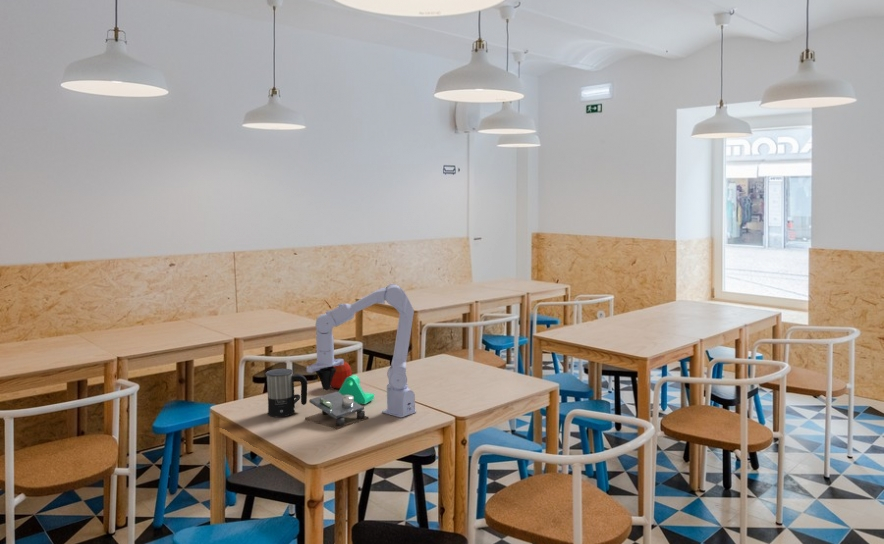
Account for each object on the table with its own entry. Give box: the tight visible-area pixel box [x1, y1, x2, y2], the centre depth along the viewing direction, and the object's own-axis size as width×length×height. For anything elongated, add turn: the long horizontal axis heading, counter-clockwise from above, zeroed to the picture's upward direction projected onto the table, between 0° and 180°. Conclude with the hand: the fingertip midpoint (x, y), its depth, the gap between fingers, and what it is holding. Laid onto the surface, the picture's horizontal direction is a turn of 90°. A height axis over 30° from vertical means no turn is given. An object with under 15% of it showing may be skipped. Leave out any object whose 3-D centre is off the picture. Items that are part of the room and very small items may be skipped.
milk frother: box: [264, 368, 308, 418], centre depth 233 cm, size 14×16×15 cm
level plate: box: [308, 391, 365, 419], centre depth 222 cm, size 14×12×4 cm
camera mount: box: [338, 374, 375, 405], centre depth 242 cm, size 12×8×10 cm, turn 68°
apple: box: [330, 360, 353, 390], centre depth 261 cm, size 10×10×12 cm
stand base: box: [304, 410, 369, 430], centre depth 223 cm, size 16×14×3 cm
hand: (326, 389), depth 226 cm, fingers closed
